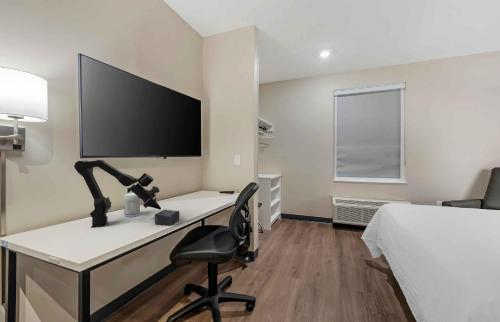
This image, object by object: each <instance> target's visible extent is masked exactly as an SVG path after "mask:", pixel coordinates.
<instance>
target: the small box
mask: <svg viewBox="0 0 500 322" xmlns="http://www.w3.org/2000/svg"><path fill="white" fill-rule="evenodd" d="M179 221H180V210H173V209H172V210H171V209H163V210H161V211H158V212H156V213H155V214H154V225H161V226H172V225H173V224H175V223H176V222H179Z"/></svg>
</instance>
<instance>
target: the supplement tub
mask: <svg viewBox="0 0 500 322" xmlns="http://www.w3.org/2000/svg"><path fill="white" fill-rule="evenodd" d="M139 215H141V199H140V198H138V196H137V195H136V194H134V193H133V192H132V193H130V192H129V193H125V194H124V197H123V216H124V217H125V218H134V217H138V216H139Z"/></svg>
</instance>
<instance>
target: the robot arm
mask: <svg viewBox="0 0 500 322" xmlns="http://www.w3.org/2000/svg"><path fill="white" fill-rule="evenodd" d="M73 167H74V170H75V171H76V172H77V173H78V174H79V175H80V176H81V177H82V178H83V180H84V182H85V184H86V186H87V188H88V190H89V192H90V194H91V196H92V199H93V207H94V209H93V210H92V211H91V212H90V213H89V215H90V217H91V226H90V228H98V227H101V228H102V227H105V226H107V224H109V223H108V222H109V221H108V219H109V217H108V216H107V213H108V211H109V210H111V208H112V202H111V200H110V199H111V198H110V197H109V196H108V197H106V196H104V195H103V193H102V190H101V188H100V186H99V184H98V182H97V180H96V178H95V176H94V168H100V169H101V171H104V172H106V173H107V174H109V175H111V176H112V177H114V178H115V179H117V181H118V183H120V184H121V185H122V186H123V187H127V188H126V189H127V193H126V194H130V192H132V193H134V194H136V195H137V196H138V198H140V201H142V202H143V205H142V207H144V208H145V209H147V208H153V209H157V210H161V209H162V207H161V206H160V203H158V201H157V194H159V193H160V188H159V187H158V186H156V185H153V186H152V187H151V189H149V190H148V189H146V188H147V187H148V186H149V185H150V184H152V182H153V181H154V177H152V176H151V175H150V174H148V173H146V172H144V173H143V174H141V176H140V177H139V178H136V177H134V176H132V175H130V174H127V173H124V172H122V171H120V170H118V169H117V168H116V167H113V166H112V165H110V164H109V163H108V162H107V161H105V160H103V159H96V160H90V161H89V160H78V161H75V163H74V165H73ZM145 187H146V188H145Z"/></svg>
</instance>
